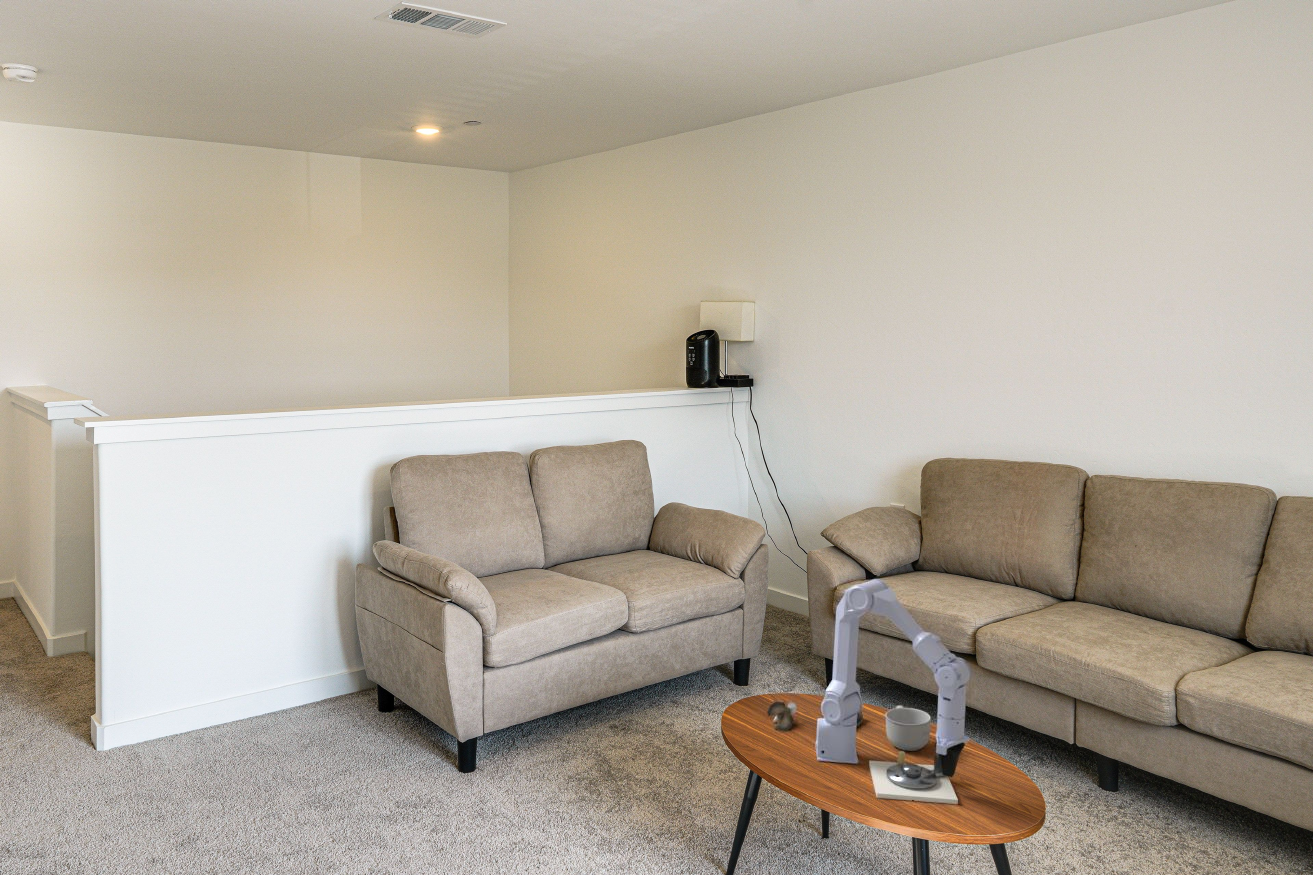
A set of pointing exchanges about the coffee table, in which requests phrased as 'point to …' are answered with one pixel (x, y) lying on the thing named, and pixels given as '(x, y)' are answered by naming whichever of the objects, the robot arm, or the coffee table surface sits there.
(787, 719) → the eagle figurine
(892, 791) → the base plate
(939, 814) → the coffee table surface
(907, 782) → the flange plate
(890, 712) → the teacup
